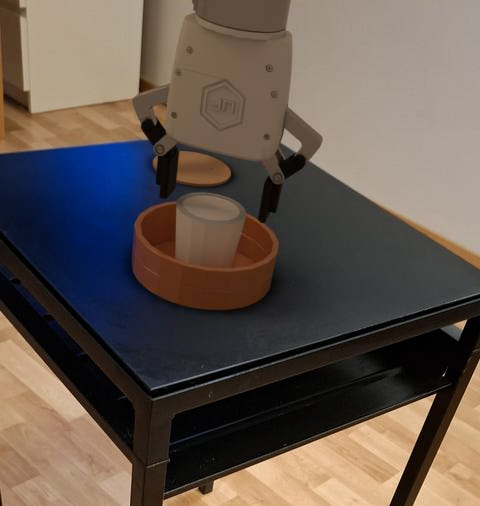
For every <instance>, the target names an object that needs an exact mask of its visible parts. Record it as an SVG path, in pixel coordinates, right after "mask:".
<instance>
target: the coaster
mask: <svg viewBox="0 0 480 506" xmlns="http://www.w3.org/2000/svg"><path fill="white" fill-rule="evenodd" d="M178 151H179V160H178V170H177V180H176V184H180V185H185V186H190V187H201V188H209V187H210V188H211V187H216V186H221V185H225V183H227V182H229V181H230V179H231V177H232V171H231V169H230V167H229V166H228V165H227V164H226V163H225V162H223V161H222V160H220V159H218V158H216V157H214V156H211V155H208V154H205V153H200V152H196V151H189V150H187V151H186V150H178ZM157 159H158V155H156V156H155V157H154V158H153V159H152V167H153V169H154V171H155V172H157Z"/></svg>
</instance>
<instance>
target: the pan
mask: <svg viewBox="0 0 480 506" xmlns="http://www.w3.org/2000/svg"><path fill="white" fill-rule="evenodd" d="M176 201H177V200H175V201H166V202H162V203H159V204H156V205H151V206H150V207H148V208H147V209H145V210H143V211H142V212H140V213H139V215H138V216H137V218H136V220H135V222H134V224H133V234H132V235H133V237H132V251H131V252H132V253H131V260H130V261H131V268H132V273H133V275H134V276H135V278H136V280H137V281H138V282H139V283H140V284H141V285H142V286H143V287H144V288H145V289H147V290H148V291H150V292H151V293H152V294H154V295H156V296H157V297H159V298H161V299H163V300H166V301H167V302H168V301H169V302H171V303H173V304H177V305H179V306H182V307H187V308H192V309H196V310H197V309H198V310H205V311H206V310H207V311H228V310H237V309H241V308H245V307H248V306H251V305H253V304H255V303H257V302H259V301H260V300H262V299H263V298H264V297H265V296H266V295H267V294H268V292H269V291H270V288H271V284H272V279H273V276H274V270H275V264H276V261H277V256H278V252H279V245H280V243H279V240H278V238H277V236H276V234H275V232H274V231H273V230H272V229H271V228H270V227H269V226H267V225H266V223H265V224H264V223H260V222H259V221H258V218H256V217H255V216H253V215H251V214H250V213H248V212H246V219H245V222H244V226H243V229H242V233H241V236H240V240H239V243H238V247H237V250H236V254H235V258H234V261H233V265H232V268H212V267H204V266H199V265H195V264H190V263H185V262H183V261H180V260H178V259H175V247H176Z"/></svg>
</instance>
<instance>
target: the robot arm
mask: <svg viewBox="0 0 480 506" xmlns="http://www.w3.org/2000/svg"><path fill="white" fill-rule="evenodd" d="M191 1H192V5H193V8H192V10H193V12H191V13H189V14H187V15H185V16H184V18H183V22H182V25H181V28H180V32H179V35H178V40H177V45H176V49H175V54H174V59H173V64H172V70H171V71H172V72H171V75H170V81H169V83H166V84H163V85H160V86H157V87H154V88H151V89H148V90H144V91H142V92H138V93H137V94H136V95H135V96H133V98H132V100H131V103H132V106H133V109H134V111H135V114H136V116H137V119H138V121H139V122H140V129H141V131H142V133H143V134H144V135H145V137H146V138H147V140H148V141H149V143H150V144H151V145H152V146H153V152H154V154H155V155H156V156H157V155H158V159H157V172H156V171H155V172H156V173H155V184H156V185H157V186H159V199H163V200H166V199H168V198H170V196H171V195H172V194H173V192H174V191H175V189H176V187H177V182H176V180H177V170H178V160H179V151H180V150H178V149H179V147H178V146H177V144H178V145H179V144H180V145H183V146H185V147H189V148H193V149H198V150H201V151H205V152H210V153H215V154H219V155H223V156H227V157H231V158H234V159H235V158H236V159H240V160H244V161H249V162H255V163H261V164H262V165H263V167H264V169H265V171H266V172H267V174H268V175H267V177H266V178H265V181H264V183H263V186H262V194H261V199H260V204H259V210H258V216H257V219H258V221H259V222H260V223H264V224H265V225H266V222H267V220H268V218H269V216H270V214H271V213H272V214H276V213H277V211H278V208H279V203H280V200H281V199H280V198H281V194H282V190H283V184H284V181H286V180H287V179H289V178H290V177H291V176H293V175H295V174H297V173H298V172H299V171H301V170H302V169H304V167H305V166H306V165H307V163H308V162H309V161H310V160H311V159H312V158H313V156H314V155H315V154H316V153H317V152H318V150H319V149H320V148H321V146H322V144H323V140H324V138H323V136H322V135H321V134H320V133H319V132H318V131H317V130H316V129H314V128H313V127H312V126H311V125H309V123H308V122H306V121H305V120H304V119H303V118H301V116H299V114H297V113H296V112H295V111H294V110H293V109H291V108H290V107H289V102H290V101H289V100H290V93H291V92H290V91H291V82H292V71H293V70H292V69H293V33H291V32H290V31H289V30H288V29H287V24H288V19H289V13H290V7H291V2H292V0H191ZM162 104H166V109H165V118H164V119H165V121H164V126H163V124H162V123H161V121H160V120H159V119H158V117H157V116H156V114H155V113H156V112H155V109H154V107H156V106H159V105H162ZM285 130H286V131H287V132H288V133H289V134H291V135H292V136H293V137H294V138H296V140H297V141H299V143H300V144H301V145H300V148H299V149H298V150H297V151H296V152H295V153H293V154H291V155H289V156H288V157H287V158H286V157H285V154H284V152H283V151H282V149H281V147H280V146H279V145H280V144H281V142H282V140H283V137H284V133H285Z"/></svg>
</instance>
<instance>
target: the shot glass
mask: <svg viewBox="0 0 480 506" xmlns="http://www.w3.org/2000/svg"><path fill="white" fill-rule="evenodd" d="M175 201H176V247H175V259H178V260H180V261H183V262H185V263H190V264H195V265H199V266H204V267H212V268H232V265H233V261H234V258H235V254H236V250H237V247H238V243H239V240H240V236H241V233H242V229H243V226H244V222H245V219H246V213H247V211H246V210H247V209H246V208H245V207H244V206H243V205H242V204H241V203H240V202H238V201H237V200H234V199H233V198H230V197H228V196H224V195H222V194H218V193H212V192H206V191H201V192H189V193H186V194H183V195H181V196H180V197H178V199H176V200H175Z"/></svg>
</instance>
